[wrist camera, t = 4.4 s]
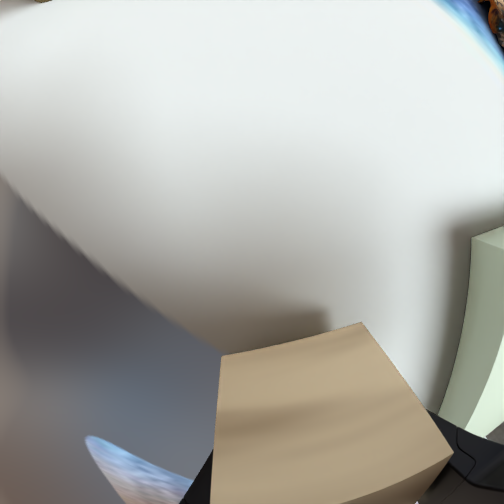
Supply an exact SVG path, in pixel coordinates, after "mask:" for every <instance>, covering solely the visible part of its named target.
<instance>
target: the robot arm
mask: <svg viewBox="0 0 504 504" xmlns="http://www.w3.org/2000/svg"><path fill="white" fill-rule="evenodd" d="M426 411H427V412H428V414H429V415H430V417H431V418H432V420H433V421H434V423H435V424H436V426H437V427H438V429H439V430H440V432H441V433H442V435H443V436H444V438H445V439H446V441H447V442H448V444H449V446H450V447H451V449H452V450H453V452H454V453H453V455H452V456H451V458H450V459H449V461H448V462H447V464H446V465H445V466H444V468H443V469H442V471H441V472H440V473H439V475H438V476H437V477H436V479H435V480H434V481H433V483H432V484H431V485H430V486H429V488H428V489H427V490H426V491H425V492H424V494H423V495H422V496H421V497H420V498H419V500H418V503H419V504H504V444H501V443H497V442H494V441H491V440H488V439H485V438H482V437H480V436H477V435H475V434H472V433H470V432H468V431H466V430H464V429H462V428H460V427H457V426H456V425H454V424H452V423H451V422H449V421H447V420H445V419H443V418H441V417H439V416H438V415H436V414H434V413H432V412H430V411H429V410H427V409H426ZM213 450H214V449H213ZM213 450H212V452H211V454H210V456H209V457H208V459H207V461H206V462H205V464H204V466H203V467H202V469H201V470H200V472H199V474H198V475H197V477H196V478H195V480H194V481H193V483H192V485H191V486H190V488H189V489H188V491H187V492H186V494H185V495H184V498H183V499H182V500H181V501H180V503H179V504H210V495H211V479H212V464H213Z"/></svg>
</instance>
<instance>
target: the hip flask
mask: <svg viewBox="0 0 504 504" xmlns="http://www.w3.org/2000/svg"><path fill="white" fill-rule="evenodd" d="M486 438H487V439H488V440H491V441H494V442H497V443H501V444H504V422H502V423H501V424H500V425H499V426H498V427H496V428H495V429H494V430H493V431H492V432H490V433H489V434H488V435H486Z"/></svg>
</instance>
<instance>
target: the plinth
mask: <svg viewBox="0 0 504 504" xmlns="http://www.w3.org/2000/svg"><path fill="white" fill-rule="evenodd" d="M438 416H439V417H441V418H443V419H445V420H447V421H449V422H451V423H452V424H454V425H456V426H457V427H460V428H462V429H464V430H466V431H468V432H470V433H472V434H475V435H477V436H480V437H482V438H484V437H485V436H486V435H488V434H489V433H490V432H492V431H493V430H494V429H495V428H496V427H498V426H499V425H500V424H501V423H502V422H504V226H501V227H499V228H496V229H493V230H491V231H488V232H485V233H483V234H480V235H477V236H474V237H471V265H470V278H469V288H468V297H467V304H466V311H465V317H464V323H463V328H462V333H461V338H460V343H459V347H458V352H457V356H456V360H455V364H454V367H453V371H452V374H451V378H450V381H449V384H448V387H447V391H446V394H445V396H444V399H443V402H442V405H441V408H440V410H439V413H438Z"/></svg>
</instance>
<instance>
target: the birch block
mask: <svg viewBox="0 0 504 504" xmlns="http://www.w3.org/2000/svg"><path fill="white" fill-rule="evenodd" d="M453 453H454V452H453V450H452V449H451V447H450V446H449V444H448V442H447V441H446V439H445V438H444V436H443V435H442V433H441V432H440V430H439V429H438V427H437V426H436V424H435V423H434V421H433V420H432V418H431V417H430V415H429V414H428V412H427V411H426V409H425V408H424V407H423V405H422V404H421V402H420V401H419V399H418V398H417V396H416V395H415V394H414V392H413V391H412V389H411V388H410V387H409V385H408V384H407V382H406V381H405V380H404V378H403V377H402V375H401V374H400V373H399V371H398V370H397V369H396V367H395V366H394V364H393V363H392V362H391V360H390V359H389V358H388V356H387V355H386V354H385V352H384V351H383V350H382V348H381V347H380V346H379V344H378V343H377V342H376V340H375V339H374V338H373V336H372V335H371V334H370V332H369V331H368V330H367V329H366V327H365V326H364V325H363V323H362V322H360V323H356V324H353V325H350V326H347V327H343V328H340V329H336V330H333V331H329V332H326V333H322V334H319V335H315V336H311V337H307V338H303V339H299V340H295V341H291V342H287V343H283V344H279V345H274V346H270V347H265V348H260V349H256V350H251V351H246V352H241V353H235V354H230V355H224V356H221V366H220V378H219V388H218V400H217V413H216V424H215V437H214V450H213V464H212V479H211V495H210V504H415V503H416V502H417V501H418V500H419V498H420V497H421V496H422V495H423V494H424V492H425V491H426V490H427V489H428V488H429V486H430V485H431V484H432V483H433V481H434V480H435V479H436V477H437V476H438V475H439V473H440V472H441V471H442V469H443V468H444V466H445V465H446V464H447V462H448V461H449V459H450V458H451V456H452V455H453Z"/></svg>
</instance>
